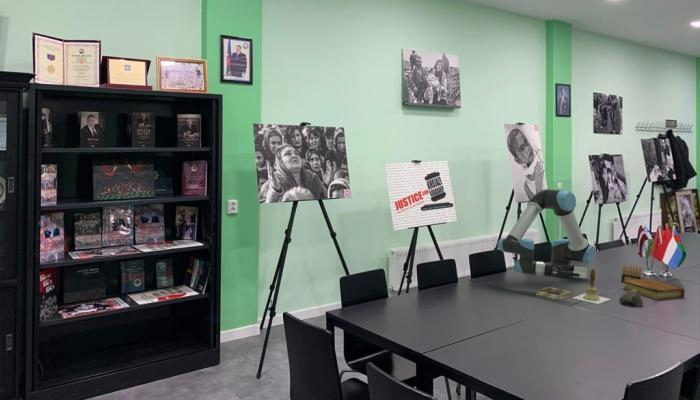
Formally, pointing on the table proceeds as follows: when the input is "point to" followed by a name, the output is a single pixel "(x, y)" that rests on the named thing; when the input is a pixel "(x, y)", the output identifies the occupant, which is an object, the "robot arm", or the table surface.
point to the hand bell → (591, 288)
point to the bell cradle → (549, 289)
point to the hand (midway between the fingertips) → (586, 273)
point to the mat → (592, 300)
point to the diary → (654, 289)
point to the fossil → (632, 298)
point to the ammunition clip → (631, 273)
